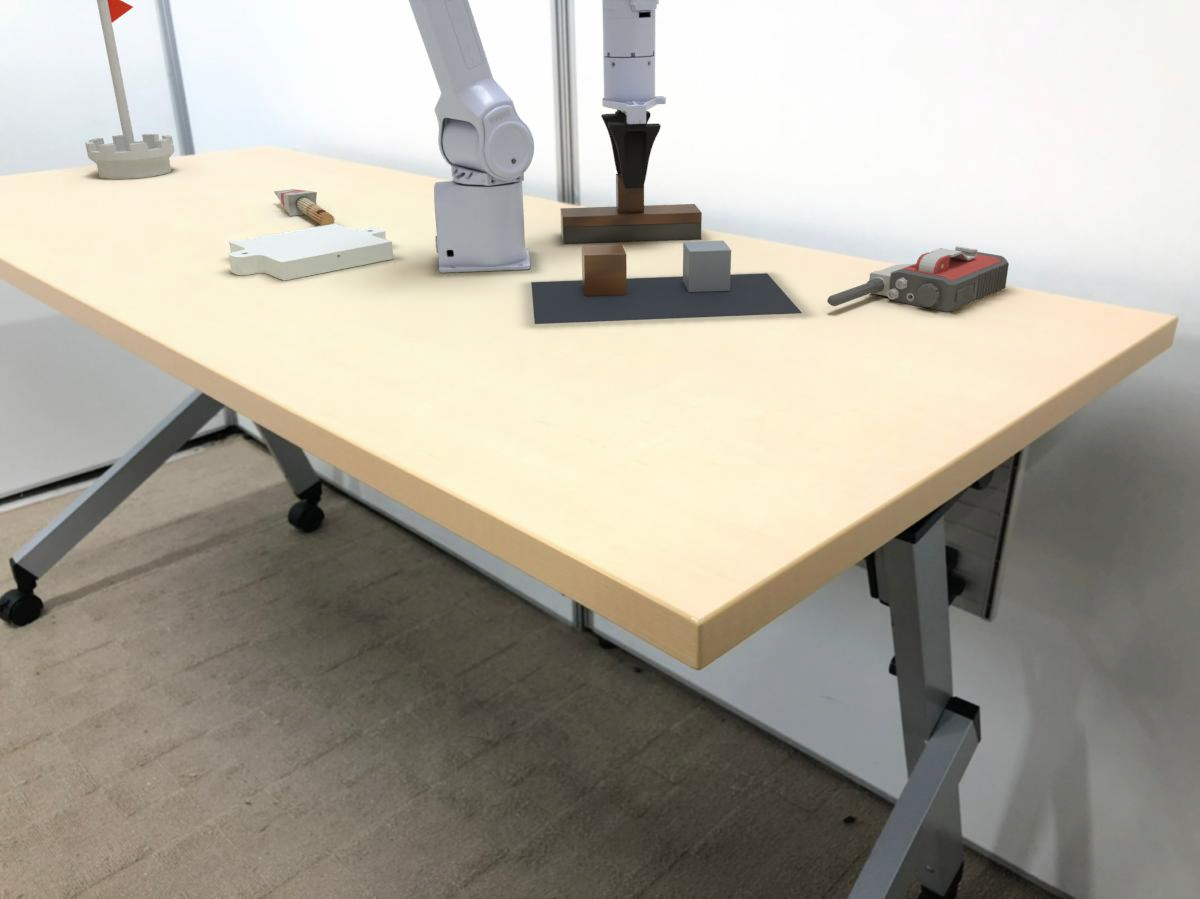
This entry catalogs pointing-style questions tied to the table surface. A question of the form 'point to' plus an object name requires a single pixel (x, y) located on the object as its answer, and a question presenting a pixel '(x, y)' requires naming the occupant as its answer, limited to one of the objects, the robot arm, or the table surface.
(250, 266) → the mounting plate
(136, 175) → the flag stand
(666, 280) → the mat
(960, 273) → the walkie-talkie
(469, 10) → the robot arm
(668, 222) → the board eraser
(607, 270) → the block brown
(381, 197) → the table surface
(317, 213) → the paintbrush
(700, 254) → the block slate
